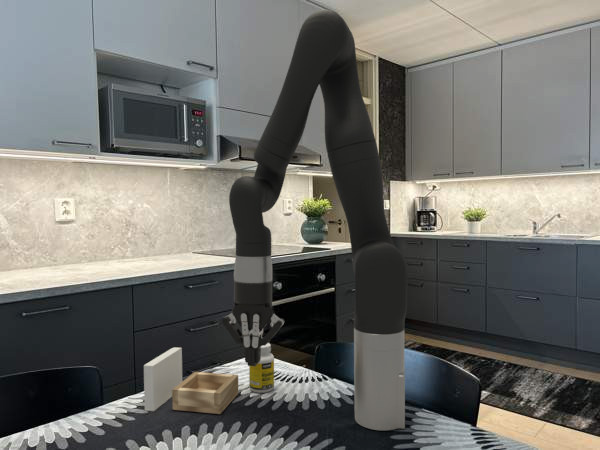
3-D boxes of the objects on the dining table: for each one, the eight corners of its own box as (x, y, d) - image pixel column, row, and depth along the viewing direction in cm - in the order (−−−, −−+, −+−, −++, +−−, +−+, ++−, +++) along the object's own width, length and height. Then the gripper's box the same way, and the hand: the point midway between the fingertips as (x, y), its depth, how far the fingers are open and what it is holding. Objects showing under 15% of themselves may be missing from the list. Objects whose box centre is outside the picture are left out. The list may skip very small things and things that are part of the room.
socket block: (238, 393, 98) (238, 375, 98) (220, 414, 88) (219, 393, 88) (195, 389, 100) (194, 371, 100) (172, 409, 90) (172, 389, 90)
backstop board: (182, 387, 102) (181, 347, 101) (153, 411, 90) (152, 366, 90) (174, 387, 102) (173, 347, 102) (144, 410, 90) (143, 365, 90)
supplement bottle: (262, 395, 97) (262, 349, 97) (244, 389, 100) (243, 345, 100) (279, 387, 101) (278, 343, 101) (261, 382, 105) (260, 339, 104)
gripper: (290, 277, 93) (289, 361, 93) (228, 274, 96) (228, 356, 96) (281, 282, 85) (280, 374, 86) (214, 279, 88) (214, 368, 89)
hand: (252, 364), depth 91 cm, fingers closed
